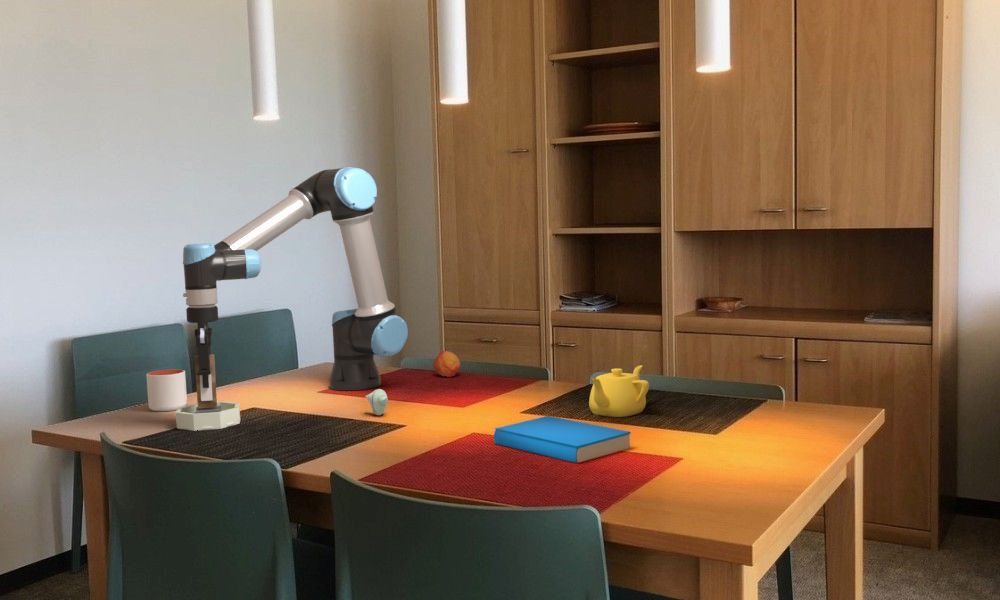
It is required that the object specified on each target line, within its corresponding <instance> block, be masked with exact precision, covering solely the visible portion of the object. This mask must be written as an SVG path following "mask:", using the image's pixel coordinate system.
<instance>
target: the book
mask: <svg viewBox="0 0 1000 600" xmlns="http://www.w3.org/2000/svg"><path fill="white" fill-rule="evenodd" d="M494 429H495V430H494V434H493V441H494V443H495V445H499V446H502V447H503V446H504V447H508V448H512V449H517V450H521V451H524V452H529V453H534V454H537V455H542V456H546V457H550V458H554V459H558V460H563V461H567V462H572V463H577V464H578V463H581V462H585V461H590V460H593V459H595V458H599V457H603V456H606V455H609V454H610V455H611V454H614V453H617V452H621V451H624V450H629V449H630V448H631V444H630V443H631V441H630V439H631V438H630V435H631V433H632V432H631V431H629V430H625V429H618V428H612V427H610V426H609V427H608V426H603V425H598V424H592V423H588V422H582V421H577V420H572V419H567V418H560V417H558V416H557V417H556V416H551V415H545V416H542V417H536V418H532V419H529V420H524V421H520V422H516V423H512V424H508V425H504V426H499V427H495V428H494Z"/></svg>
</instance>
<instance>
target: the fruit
mask: <svg viewBox="0 0 1000 600" xmlns="http://www.w3.org/2000/svg"><path fill="white" fill-rule="evenodd" d="M433 369H434V371H435V372H436V373H438V375H440V376H442V377H445V376H446V378H453V377H455V376H456V375H457V373H458V372H459V371H460V370H461V361H460V359H459V357H458V356H457V355H456V354H455V353H453V352H451V351H449V350H444V351H441V352H439V353H438V354H437V356H436V357H435V359H434V362H433ZM452 376H453V377H452Z"/></svg>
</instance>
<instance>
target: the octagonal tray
mask: <svg viewBox="0 0 1000 600" xmlns="http://www.w3.org/2000/svg"><path fill="white" fill-rule="evenodd" d="M175 418H176V421H175V422H176V429H178V430H184V431H194V432H196V431H197V430H198V431H209V430H211V431H212V430H220V429H224V428H229V427H232V426H233V427H234V426H235V425H238V424H240V423H241V408H240V402H234V401H233V402H231V401H220V400H219V401H217V407H213V408H200V409H198V403H197V402H196V403H191V404H189V405H186V406H183V407H179V408H178V409H177V410H175ZM198 431H197V432H198Z"/></svg>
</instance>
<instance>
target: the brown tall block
mask: <svg viewBox="0 0 1000 600" xmlns="http://www.w3.org/2000/svg"><path fill="white" fill-rule="evenodd" d="M209 357H210V371H211V373H210V374H211V381H212V398H213V400H210V401H201V390H200V375H197V373H199V359H198V354H197V355H195V356H194V364H195V365H194V366H195V384H196V399H197V402H196V403H198V409H200V408H213V407H217V402H218V400H217V399H218V398H217V383H216V382H217V381H216V363H215V362H216V361H215V354H211V355H209Z"/></svg>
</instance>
